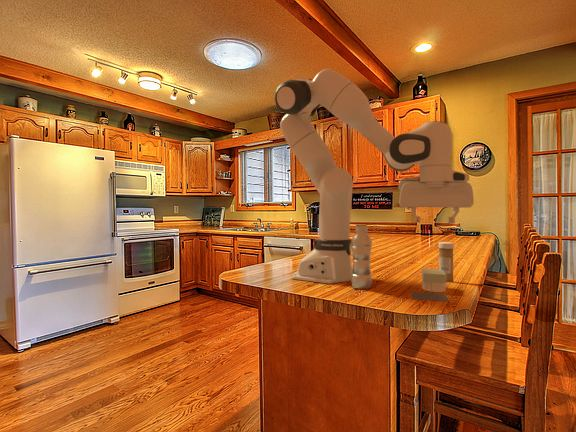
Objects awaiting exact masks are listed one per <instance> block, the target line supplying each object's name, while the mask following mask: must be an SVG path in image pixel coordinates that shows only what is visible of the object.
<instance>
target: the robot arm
mask: <svg viewBox="0 0 576 432" xmlns="http://www.w3.org/2000/svg"><path fill="white" fill-rule="evenodd" d="M274 102H275V106H276V107H277V108H278V110H279V111H280V112H282V113H284V116H283V117H282V118H281V120H280V122H279V127H280V130H281V133H282V135H283V137H284V139H285V141H286V143H287V145H288V146H289V148H290V149H291V151H292V153H293V154H294V156H295V157H296V158H297V160H298V161H299V163H300V164H301V166H302V167H303V170H304V171H305V172H306V175H307V176H308V178H309V179H310V181H311V182H312V184H313V186H314V187H315V189H316V191H317V192H318V194H319V214H318V238H316V239H315V240H314V241H313V243H312V245H313V249H312V250H310V251H309V252H308V253H307V254H306V255H305V256H303V257H302V258H301V259H300V260H299V263H298V268H297V271H295V272H293V273H292V275H291V279H293V280H297V281H307V282H313V283H314V282H315V283H323V284H328V285H329V284H330V285H331V284H336V283H343V282H351V277H352V271H353V263H352V259H351V258H352V257H351V254H352V245H351V241H352V239H351V209H352V200H353V199H352V198H353V187H354V185H353V184H354V181H353V177H352V175H351V174H350V173H349V172H348V171H347V170H346V169H344V168H341V167H338V165H337V164H336V161H335V160H334V158H333V155H332V154H331V151H330V149H329V148H328V146H327V144H326V142H325V141H324V140H323V139H322V137H321V135H320V134H319V132H318V131H317V129H316V128H315V127H314V125H313V124H312V121H311V117H313V116H314V115H315V114H316V112H317V110H318V109H319V107H320V106H322V107H323V108H325V109H326V110H327V111H328V112H329V113H331V115H332V116H334V117H336V119H338V120H340V121H341V122H343V123H344V124H346V125H347V126H349V127H351V128H352V129H353V130H355V131H357V132H358V133H359V134H360V135H362V136H363V137H365V139H366V140H367V141H369V143H371V144H372V145H373V146H375V148H376V149H378V150H379V152H380V153H381V154H382V155H383V157H384V160H385V162H386V164H387V165H388V167H390V169H392V170H393V171H396V172H407V171H409V170H411V169H412V168H413V167H414V166H415V165H418V167H419V174H418V176H414V177H412V176H411V177H403V178H401V179H400V180H399V181H398V184H397V189H398V191H399V193H400V194H399V201H398V205H399V206H400V207H401V208H410V211H411V214H412V215H413V217H414V223H420V222H421V217H420V216H418V215H417V213H416V211H417V208H452V212H453V214H452V216H448V220H447V222H448V224H455V222H456V218H457V215H458V213H460V209H461V208H463V209H466V208H468V209H469V208H471V207H472V206H473V205H474V202H475V201H474V200H475V199H474V191H473V187H472V185H471V183H469V182H468V181H470V175H469V174H468V173H466V172H461V171H457V170H454V169H453V164H452V161H451V158H452V154H453V136H452V135H453V134H452V129H451V126H450V125H449V124H447V123H446V122H442V121H437V120H436V121H435V120H432V121H427V122H424V123H423V124H422V125H420V126H419V127H417V128H415V129H413V130H411V131H408V132H404V133H402V134H399V135H396V136H395V135H393V134H392V133H391V132H390V131H389V130H387V129H386V128H385V127H384V126H383V125H382V124H381V123H380V122H379V121H378V120H377V119H376V117H375V115H374V113H373V111H372V107H371V104H370V101H369V98H368V97H367V96H366V94H365V93H364V92H363V91H362V89H361V88H360V87H359V86H358V85H356V84H355V83H354V82H352V81H351V80H350V79H349V78H348V77H346V76H344V75H343V74H341V73H339V72H338V71H336V70H333V69H332V68H324V69H322V70H320V71H319V72H317V74H316V75H315V76H314V77H313V79H311V78H296V79H288V80H286V81H283V82H281V83H280V84H279V85H278V86H277V88H276V90H275V93H274Z"/></svg>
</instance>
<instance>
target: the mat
mask: <svg viewBox="0 0 576 432" xmlns="http://www.w3.org/2000/svg"><path fill="white" fill-rule="evenodd" d="M410 292H411V298H412V300H421V301H433V302H434V301H435V302H445V303H450V300H449V298H448V297H447V294H446V293H436V292H423V291H422V292H421V291H410Z"/></svg>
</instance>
